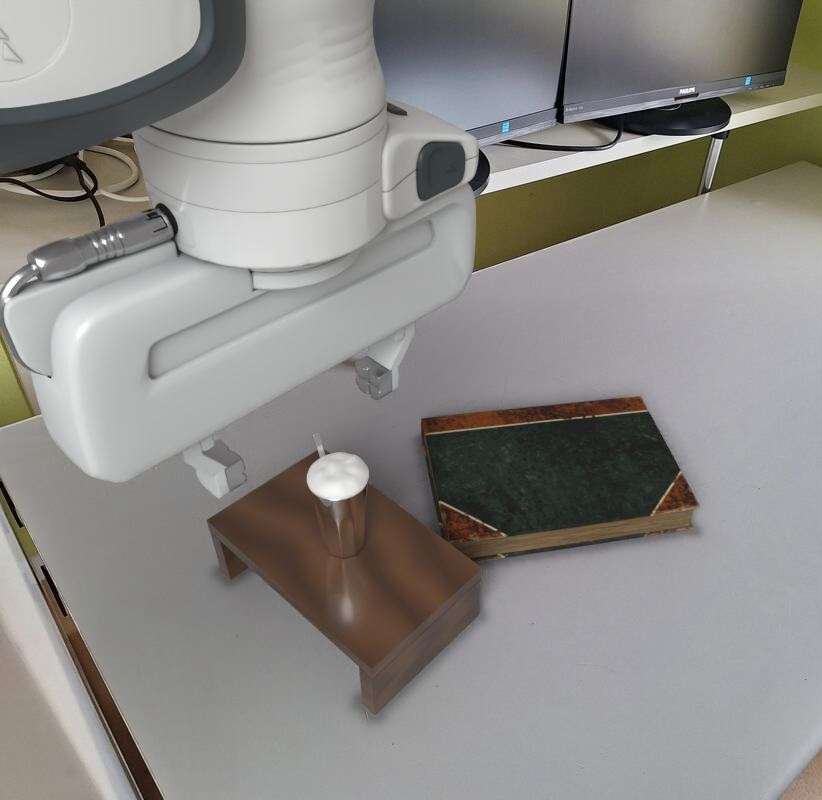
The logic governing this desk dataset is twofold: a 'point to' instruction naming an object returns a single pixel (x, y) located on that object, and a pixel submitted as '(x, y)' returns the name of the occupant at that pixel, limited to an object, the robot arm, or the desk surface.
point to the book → (553, 477)
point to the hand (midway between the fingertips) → (307, 433)
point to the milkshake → (339, 499)
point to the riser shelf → (354, 578)
